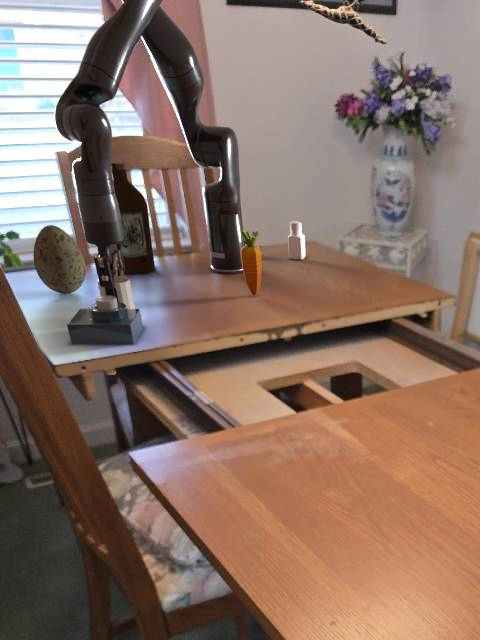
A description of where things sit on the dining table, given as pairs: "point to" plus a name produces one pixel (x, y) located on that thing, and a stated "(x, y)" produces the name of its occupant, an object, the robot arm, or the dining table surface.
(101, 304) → the pump
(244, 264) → the carrot
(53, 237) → the decorative egg
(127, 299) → the cup
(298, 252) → the pepper shaker
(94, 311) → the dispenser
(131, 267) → the olive oil
